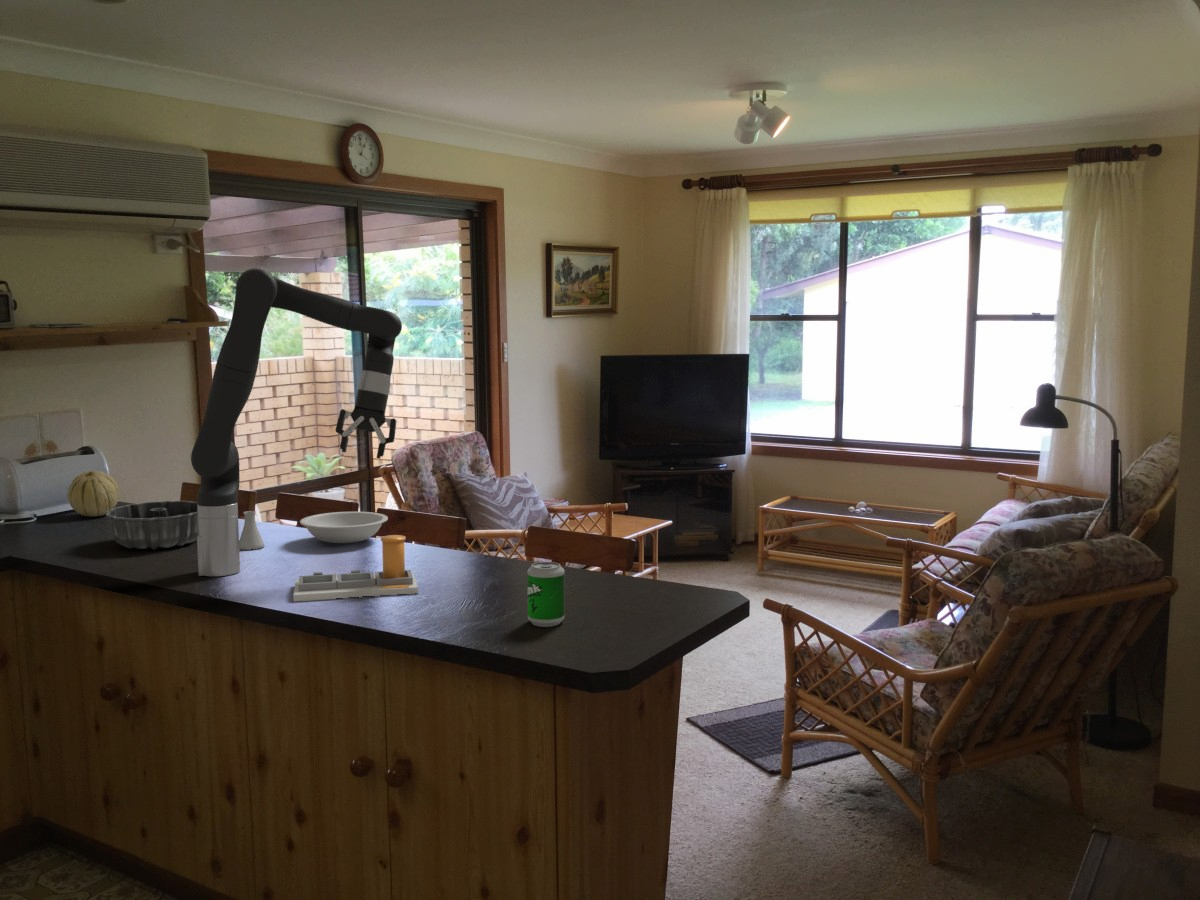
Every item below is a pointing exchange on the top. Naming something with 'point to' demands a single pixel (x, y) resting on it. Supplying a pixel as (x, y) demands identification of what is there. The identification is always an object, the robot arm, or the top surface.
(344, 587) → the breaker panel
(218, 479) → the robot arm
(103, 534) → the top surface
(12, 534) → the top surface
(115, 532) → the bundt pan
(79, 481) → the cantaloupe
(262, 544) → the flask
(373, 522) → the soup bowl
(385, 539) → the cap
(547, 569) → the soda can
